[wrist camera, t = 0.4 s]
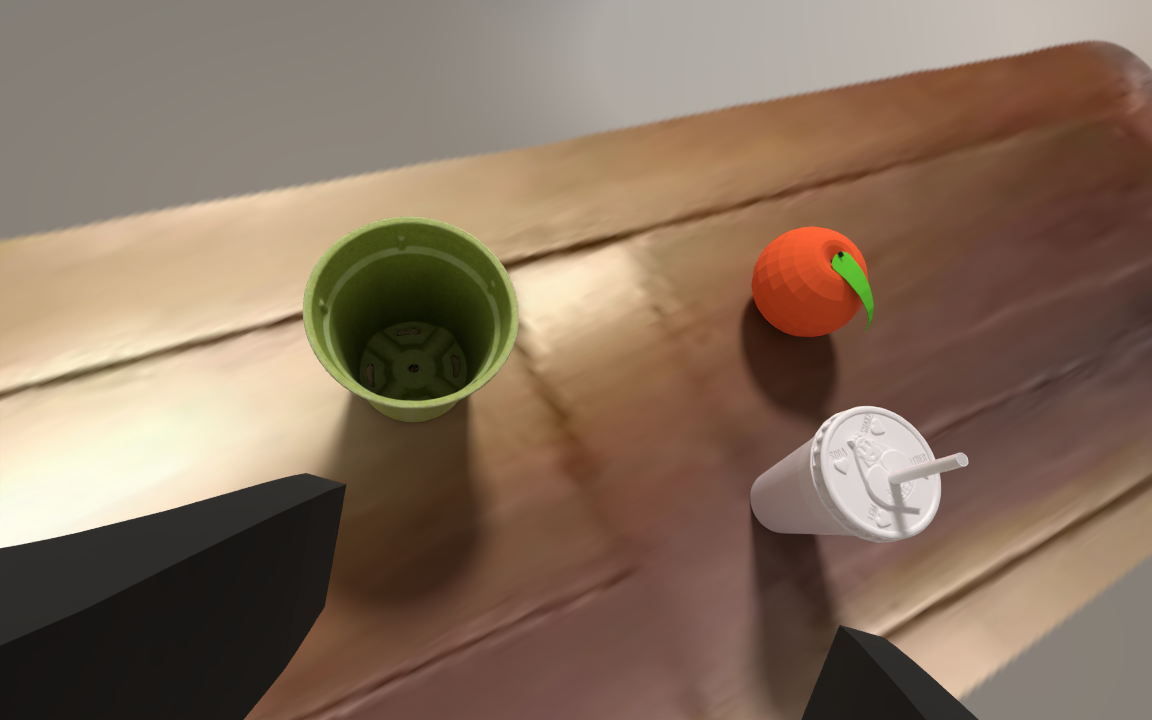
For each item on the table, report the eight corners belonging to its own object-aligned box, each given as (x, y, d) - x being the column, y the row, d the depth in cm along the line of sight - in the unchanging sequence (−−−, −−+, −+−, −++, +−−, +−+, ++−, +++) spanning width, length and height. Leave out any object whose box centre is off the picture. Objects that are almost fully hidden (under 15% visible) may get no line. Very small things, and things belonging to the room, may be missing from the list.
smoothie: (782, 580, 37) (970, 565, 25) (707, 494, 38) (851, 435, 26) (846, 508, 40) (1046, 460, 27) (774, 428, 41) (935, 346, 28)
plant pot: (481, 288, 40) (497, 208, 32) (512, 436, 37) (537, 389, 29) (319, 306, 37) (292, 224, 29) (339, 467, 34) (315, 425, 26)
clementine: (855, 331, 45) (929, 284, 38) (792, 385, 42) (860, 344, 36) (779, 244, 46) (838, 184, 40) (713, 291, 43) (764, 235, 37)
